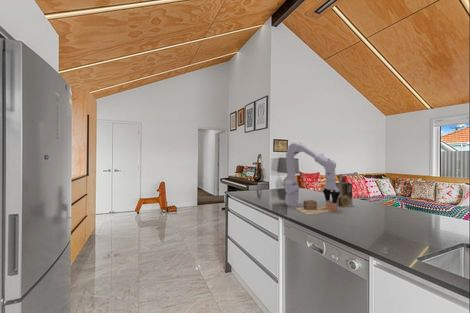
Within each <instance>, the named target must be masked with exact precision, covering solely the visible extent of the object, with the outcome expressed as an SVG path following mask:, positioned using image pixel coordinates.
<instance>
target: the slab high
mask: <svg viewBox="0 0 470 313" xmlns="http://www.w3.org/2000/svg"><path fill="white" fill-rule="evenodd" d="M304 205H306V206H318V203H317V201H315V200H313V199H308V200H306V199H305V200H303V206H304Z"/></svg>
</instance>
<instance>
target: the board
mask: <svg viewBox="0 0 470 313" xmlns="http://www.w3.org/2000/svg"><path fill="white" fill-rule="evenodd" d="M293 208H294V209H295V210H298V211H300V212H302V213H304V214H306V215H308V214H309V215H312V214H325V213H336V212H337V213H338V212H340V210H339V209H337V210H335V211H329V210H326V204H325V205H317V210H306V209H304V206H298V207H297V206H293Z"/></svg>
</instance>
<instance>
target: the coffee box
mask: <svg viewBox="0 0 470 313" xmlns="http://www.w3.org/2000/svg"><path fill="white" fill-rule="evenodd" d="M352 184H353V183H352V182H351V183H350V182H336V187H337V188H338V189H339V192H340V194H339V196H338V199H337V208H338V207H339V208H348V207H349V208H351V207H352V208H353V185H352Z"/></svg>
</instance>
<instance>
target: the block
mask: <svg viewBox="0 0 470 313" xmlns="http://www.w3.org/2000/svg"><path fill="white" fill-rule="evenodd" d="M325 206H326V210H329V211H335V210H338V206H337V203H333V202H332V200H330V201H326V200H325Z"/></svg>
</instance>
